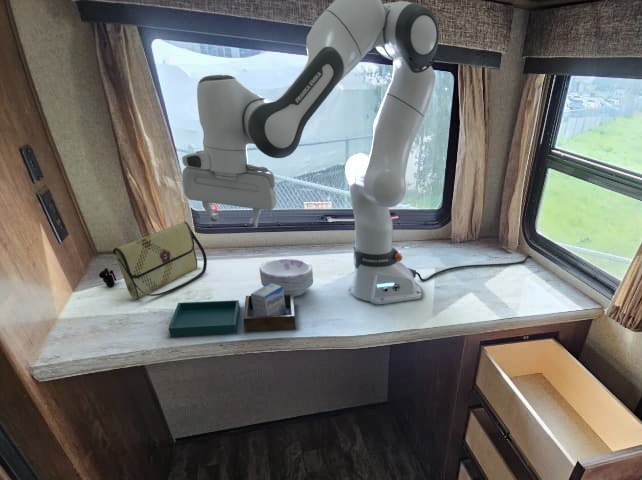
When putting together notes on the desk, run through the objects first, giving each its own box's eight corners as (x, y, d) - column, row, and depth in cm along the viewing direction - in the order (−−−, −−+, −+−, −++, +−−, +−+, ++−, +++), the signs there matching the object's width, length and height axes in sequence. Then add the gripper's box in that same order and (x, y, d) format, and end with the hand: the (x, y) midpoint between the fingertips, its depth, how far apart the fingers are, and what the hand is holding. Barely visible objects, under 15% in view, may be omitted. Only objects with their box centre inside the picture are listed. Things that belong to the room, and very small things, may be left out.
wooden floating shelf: (294, 306, 126) (292, 293, 123) (296, 329, 116) (294, 316, 113) (248, 308, 122) (245, 295, 120) (245, 332, 112) (243, 318, 110)
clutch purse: (148, 306, 118) (130, 253, 109) (125, 302, 119) (106, 248, 110) (215, 268, 142) (205, 222, 133) (196, 265, 143) (184, 219, 134)
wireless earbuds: (110, 291, 124) (104, 274, 121) (100, 291, 123) (93, 274, 120) (118, 281, 129) (112, 264, 126) (108, 281, 128) (102, 264, 125)
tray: (240, 308, 122) (238, 300, 120) (236, 333, 111) (235, 324, 110) (180, 311, 118) (178, 302, 116) (171, 337, 107) (168, 328, 106)
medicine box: (269, 326, 115) (264, 297, 110) (255, 322, 116) (250, 293, 111) (287, 314, 121) (283, 286, 116) (273, 311, 123) (269, 282, 117)
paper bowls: (310, 279, 142) (308, 256, 137) (317, 299, 130) (315, 275, 126) (261, 282, 137) (257, 258, 132) (264, 303, 125) (260, 278, 121)
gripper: (277, 166, 101) (281, 226, 109) (187, 152, 99) (197, 215, 107) (269, 170, 96) (273, 233, 103) (174, 156, 94) (185, 221, 102)
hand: (234, 223), depth 105 cm, fingers open, 8 cm apart
